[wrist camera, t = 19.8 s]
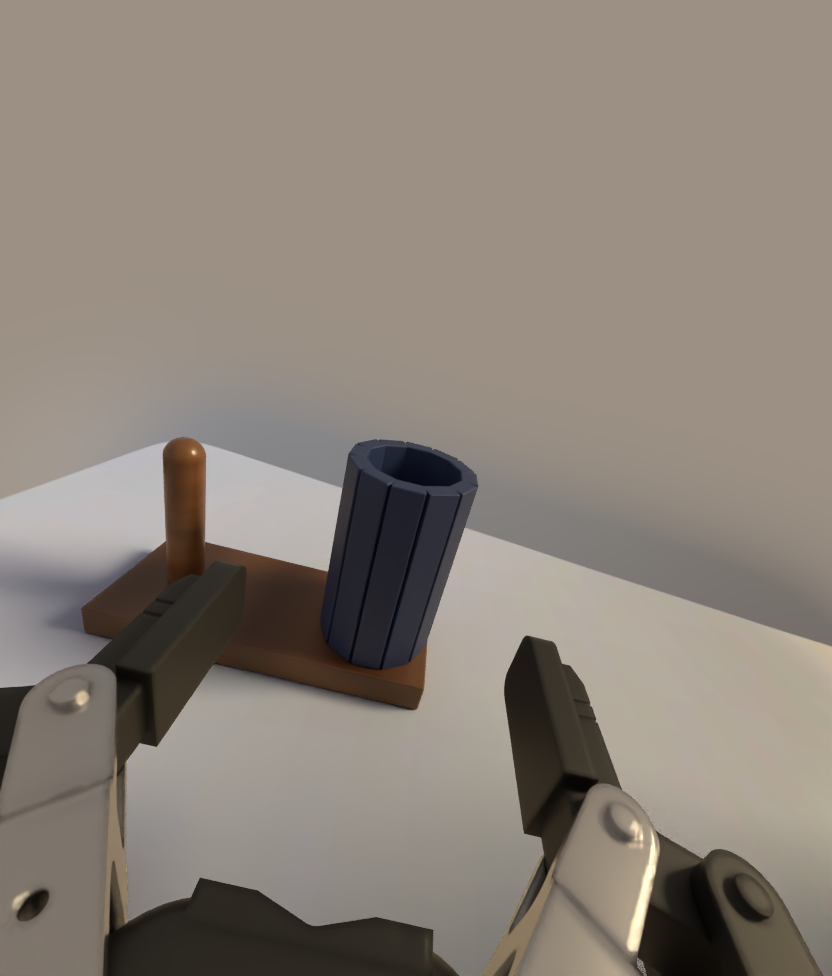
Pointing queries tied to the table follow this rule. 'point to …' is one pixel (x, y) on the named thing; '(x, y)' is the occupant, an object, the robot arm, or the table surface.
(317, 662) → the rack
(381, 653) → the navy ribbed cylinder
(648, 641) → the table surface
